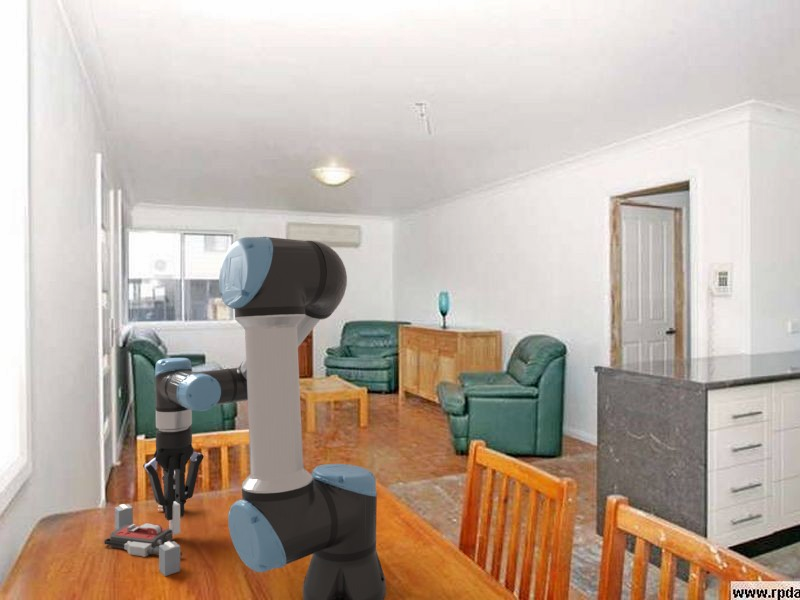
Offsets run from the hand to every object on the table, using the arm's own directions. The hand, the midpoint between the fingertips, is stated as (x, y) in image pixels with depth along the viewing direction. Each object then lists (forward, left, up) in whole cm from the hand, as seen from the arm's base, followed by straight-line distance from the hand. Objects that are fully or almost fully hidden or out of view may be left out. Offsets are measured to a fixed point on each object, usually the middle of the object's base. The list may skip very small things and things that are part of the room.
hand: (174, 532), depth 125 cm
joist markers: (0, +7, -2) cm, 7 cm away
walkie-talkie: (0, +5, -2) cm, 6 cm away
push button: (+16, -5, -2) cm, 17 cm away
